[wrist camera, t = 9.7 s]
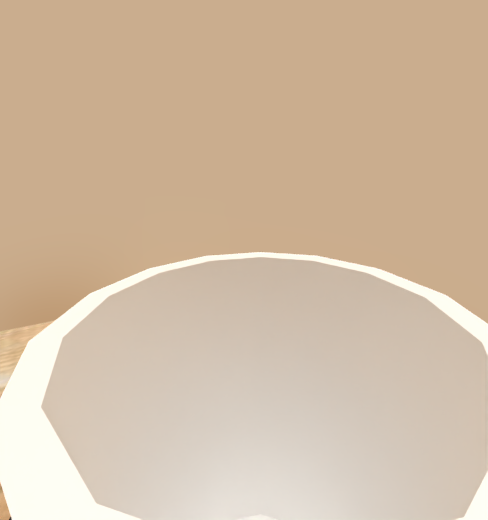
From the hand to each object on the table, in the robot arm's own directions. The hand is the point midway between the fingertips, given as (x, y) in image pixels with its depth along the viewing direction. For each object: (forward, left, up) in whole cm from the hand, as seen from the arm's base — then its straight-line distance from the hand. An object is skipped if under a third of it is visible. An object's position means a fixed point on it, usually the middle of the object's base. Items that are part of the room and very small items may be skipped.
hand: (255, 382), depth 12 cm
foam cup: (+3, -3, -7) cm, 8 cm away
